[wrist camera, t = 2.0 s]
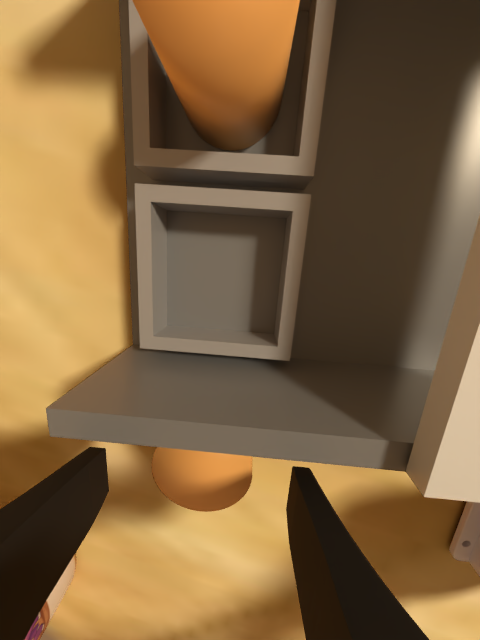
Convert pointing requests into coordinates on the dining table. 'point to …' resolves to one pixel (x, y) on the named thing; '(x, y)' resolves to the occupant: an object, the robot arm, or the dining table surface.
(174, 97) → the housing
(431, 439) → the lid
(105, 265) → the dining table surface
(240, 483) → the orange rounded block
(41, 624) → the milk bottle
